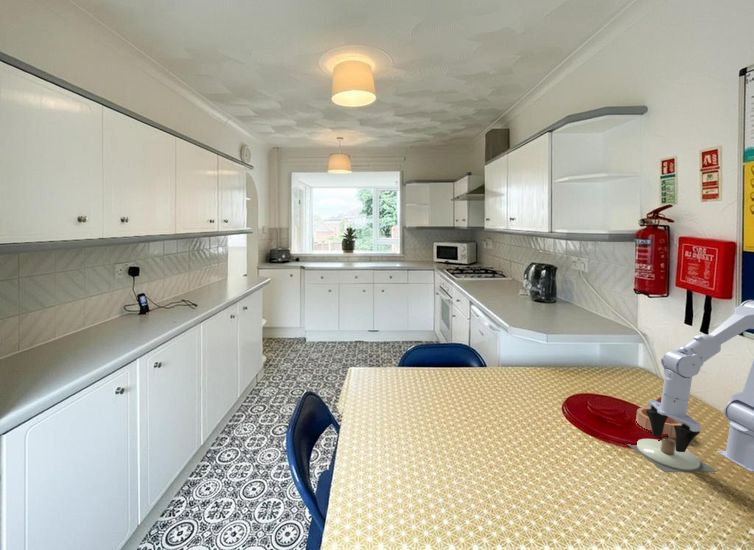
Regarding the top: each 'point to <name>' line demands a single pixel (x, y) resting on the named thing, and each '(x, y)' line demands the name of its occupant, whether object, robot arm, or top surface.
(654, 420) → the robot arm
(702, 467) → the mat
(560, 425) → the top surface
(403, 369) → the top surface
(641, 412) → the bowl
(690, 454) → the lid
